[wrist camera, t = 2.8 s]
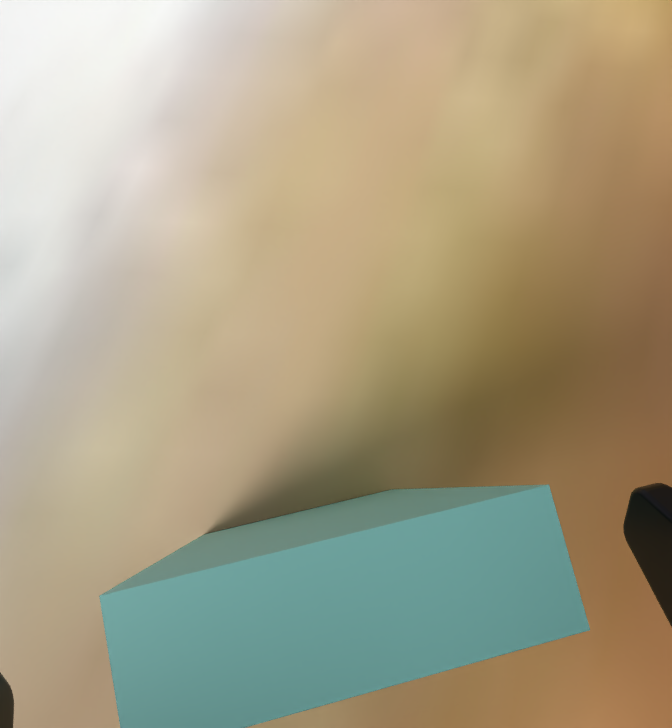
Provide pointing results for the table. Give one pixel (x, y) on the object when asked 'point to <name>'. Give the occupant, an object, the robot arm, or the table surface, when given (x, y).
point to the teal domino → (338, 604)
